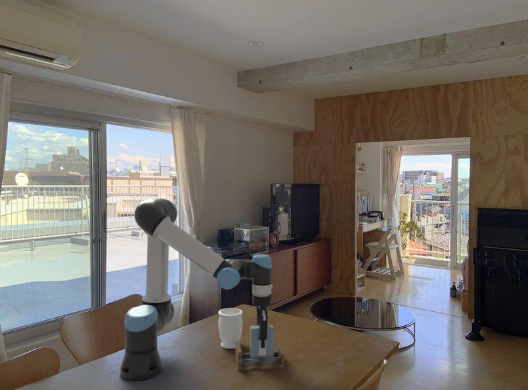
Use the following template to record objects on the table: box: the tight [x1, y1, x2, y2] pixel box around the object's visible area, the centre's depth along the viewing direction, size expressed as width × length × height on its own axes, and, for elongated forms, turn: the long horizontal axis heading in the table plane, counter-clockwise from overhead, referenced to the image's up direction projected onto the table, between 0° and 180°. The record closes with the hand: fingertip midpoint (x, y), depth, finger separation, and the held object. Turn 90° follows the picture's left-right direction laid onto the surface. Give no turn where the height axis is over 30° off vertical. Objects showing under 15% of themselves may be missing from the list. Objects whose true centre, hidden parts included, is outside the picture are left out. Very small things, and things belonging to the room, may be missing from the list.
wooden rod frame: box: [234, 341, 285, 372], centre depth 156 cm, size 18×10×7 cm, turn 99°
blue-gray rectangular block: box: [249, 324, 275, 359], centre depth 156 cm, size 9×3×12 cm, turn 99°
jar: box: [218, 307, 243, 350], centre depth 173 cm, size 11×10×15 cm
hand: (261, 352), depth 156 cm, fingers closed on blue-gray rectangular block, 3 cm apart
